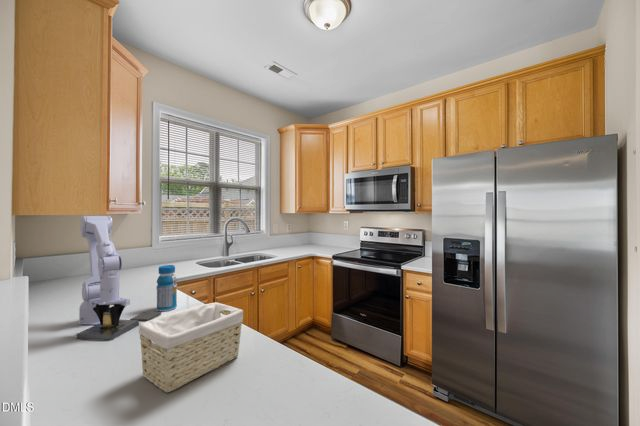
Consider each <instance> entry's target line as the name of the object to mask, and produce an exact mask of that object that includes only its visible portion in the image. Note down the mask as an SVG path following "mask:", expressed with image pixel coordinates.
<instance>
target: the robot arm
mask: <svg viewBox="0 0 640 426" xmlns="http://www.w3.org/2000/svg"><path fill="white" fill-rule="evenodd" d="M79 226H80V234H81V237H83V238H85V239H86V241H87V243H88V257H89V269H90V276H89V277H88V278H87V279H86V280H84V282H83V283H82V288H81V298H82V302H81V303H80V306H79V310H78V311H79V315H78V316H79V321H78V322H77V325H89V326H90V325H91V326H92V325H93V326H95V325H97V324H99V323H100V324H101V325H103V311H105V310H108V309H109V310H110V312H111V317H112V325H116V324H118V323H119V320H121V319H120V318H121V316H122V314H123V311H124V310H125V308H126V307H127V306H129V305H130V304H131V299H130V298H123V297H120V271H121V270H122V266H123V261H122V260H123V259H122V257H121V255H120V254H119V253H117V249H116V247H115V244H114V242H113V241H110V233H111V230H112V228H113V217H111V215H82V216H81V218H80V223H79Z"/></svg>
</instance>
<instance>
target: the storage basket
mask: <svg viewBox="0 0 640 426" xmlns="http://www.w3.org/2000/svg"><path fill="white" fill-rule="evenodd" d="M221 314H222V315H224V316H222V317H221ZM243 320H244V310H243V309H241V308H238V307H234V306H233V305H232V306H230V305H228V304H224V303H221V302H211V303H206V304H201V305H197V306H195V307H191V308H187V309H184V310H179V311H177V312H173V313H169V314H166V315H162V316H161V315H160V316H157V317H155V318H153V319H152V320H149V321H143V322H141V323H139V325H138V327H139V329H138V334H139V339H140V346H141V347H140V348H141V350H140V351H141V361H142V363H141V367H142V368H141V369H142V375H143V377H144V378H146V379H147V380H148V381H149V382H150V383H152V384H154V385H155V386H156V387H158V388H159V389H160V390H162V391H163V392H165V393H170V392H173V391H175V390H177V389H179V388H181V387H182V386H184V385H186V384H188V383H189V382H193V381H194V380H196V379H197V378H199V377H201V376H203V375H205V374H207V373H209V372H212V371H215V370H216V369H218V368H220V367H221V366H224V365H225V364H226V363H228V362H230V361H233V360H235V359H236V358H238V357H239V351H240V350H239V348H240V343H241V334H242V331H241V330H242V325H243Z"/></svg>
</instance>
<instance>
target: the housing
mask: <svg viewBox="0 0 640 426" xmlns="http://www.w3.org/2000/svg"><path fill="white" fill-rule="evenodd" d="M139 325H140V321H139V320H130V319H119V323H118V324H116V327H115V328H112V329H107V330H103V325H101V324H100V323H99V324H97V325H93V326H91V327H88V328H87V329H84V330H82V331H80V332H77V333H76V340H80V341H81V340H82V341H83V340H89V341H95V340H96V341H113V340H115V339H116V338H119V337H120V336H122V335H124V334H125V333H127V332H130V331H131V330H132V329H135V328H137V327H139Z"/></svg>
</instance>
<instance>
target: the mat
mask: <svg viewBox="0 0 640 426" xmlns="http://www.w3.org/2000/svg"><path fill="white" fill-rule="evenodd" d="M161 315H162V311H157V312H156V311H155V312H154V311H153V312H152V311H150V312H149V311H144V312H141V313H139V314H137V315H134V316H133V317H132V318H131V317H130V319H129V320H139V322H146V321H149V320H152V319H155V318H158V317H160V316H161Z"/></svg>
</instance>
